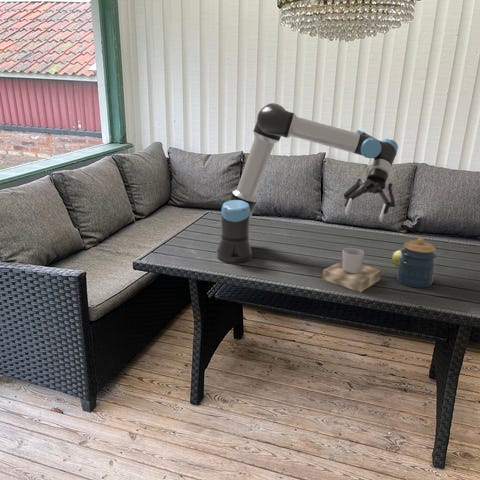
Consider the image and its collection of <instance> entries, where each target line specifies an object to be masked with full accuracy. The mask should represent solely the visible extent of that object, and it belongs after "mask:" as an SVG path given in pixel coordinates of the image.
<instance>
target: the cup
mask: <svg viewBox="0 0 480 480" xmlns="http://www.w3.org/2000/svg"><path fill="white" fill-rule="evenodd" d="M364 257H365V251H364V250H363V249H360V248H357V247H356V248H355V247H345V248H343V249H342V258H341V259H342V260H341V261H342V267H343V270H344V271H345V272H348V273H358V272H359V271H360V269H361V266H362V265H363V261H364Z"/></svg>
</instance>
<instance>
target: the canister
mask: <svg viewBox="0 0 480 480" xmlns="http://www.w3.org/2000/svg"><path fill="white" fill-rule="evenodd" d="M400 250H401V253H402V254H401V257H400V258H399V260H400V261H399V265H398V268H397V272H396V280H397V282H399V283H400V284H402V285H404V286H408V287H411V288H417V289H418V288H419V289H423V288H424V289H425V288H428V287H430V286H431V285H432V283H433V280H434V275H435V274H434V273H435V267H436V259H437V257H438V254H437V252H436V250H437V249H436V247H435V246H433V244H432V243H430V242H427V241H425V239H424V238H423V237H418V238H417V239H416V240H415V239H414V240H413V239H412V240H409V241H407V242H405V243H403V247H402V248H401V249H400Z"/></svg>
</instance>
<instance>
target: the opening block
mask: <svg viewBox="0 0 480 480" xmlns="http://www.w3.org/2000/svg"><path fill="white" fill-rule="evenodd" d="M381 278H382V269H380V268H376V267H375V268H374V267H372V266H369V265H364V264H362V266H361V269H360V271H359V272H358V273H348V272H345V271H344V270H343V267H342V260H340V261H338V262H336V263H335V264H333V265H331V266H328V267H326V268H324V269H322V280H323V281H326V282H328V283H332V284H334V285H338V286H341V287H344V288H347V289H350V290H353V291H356V292H359V293H362V292H363V291H365V290H367V289H369V288H370V287H371V286H372V285H375V284H376V283H377V282H379V281H381Z"/></svg>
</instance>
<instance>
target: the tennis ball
mask: <svg viewBox="0 0 480 480" xmlns="http://www.w3.org/2000/svg"><path fill="white" fill-rule="evenodd" d="M401 254H402V253H401V249H400V250H395V251H394V252H393V254H392V256H391V258H392V261H393V263H394V264H395V265H396V266H399V261H400V260H399V258H400V257H401Z"/></svg>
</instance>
